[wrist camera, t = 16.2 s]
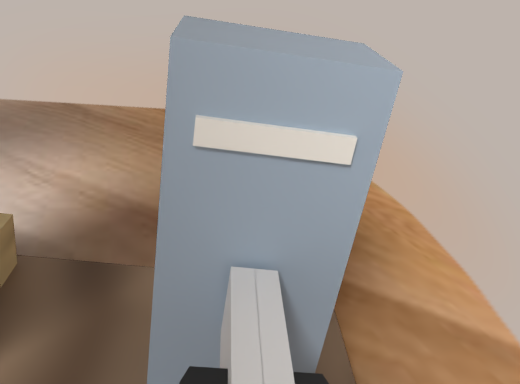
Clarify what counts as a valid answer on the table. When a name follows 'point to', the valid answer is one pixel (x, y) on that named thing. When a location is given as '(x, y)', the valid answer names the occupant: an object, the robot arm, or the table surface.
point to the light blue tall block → (260, 180)
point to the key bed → (91, 321)
